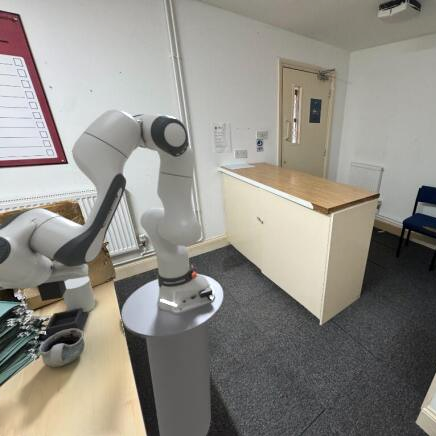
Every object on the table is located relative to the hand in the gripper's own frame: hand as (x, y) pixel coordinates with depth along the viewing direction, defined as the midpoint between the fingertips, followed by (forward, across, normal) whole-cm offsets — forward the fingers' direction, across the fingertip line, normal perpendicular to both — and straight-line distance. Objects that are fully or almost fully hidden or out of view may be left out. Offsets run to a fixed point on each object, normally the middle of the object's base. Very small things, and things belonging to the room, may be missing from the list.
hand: (51, 280), depth 71 cm
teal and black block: (+3, 0, +4) cm, 5 cm away
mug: (+9, -2, +24) cm, 25 cm away
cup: (+27, 0, +6) cm, 28 cm away
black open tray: (+20, +2, +12) cm, 24 cm away
